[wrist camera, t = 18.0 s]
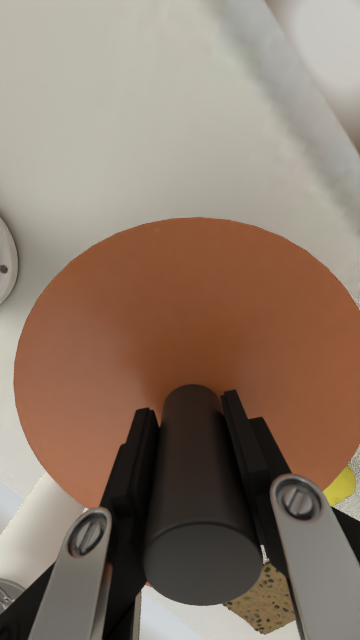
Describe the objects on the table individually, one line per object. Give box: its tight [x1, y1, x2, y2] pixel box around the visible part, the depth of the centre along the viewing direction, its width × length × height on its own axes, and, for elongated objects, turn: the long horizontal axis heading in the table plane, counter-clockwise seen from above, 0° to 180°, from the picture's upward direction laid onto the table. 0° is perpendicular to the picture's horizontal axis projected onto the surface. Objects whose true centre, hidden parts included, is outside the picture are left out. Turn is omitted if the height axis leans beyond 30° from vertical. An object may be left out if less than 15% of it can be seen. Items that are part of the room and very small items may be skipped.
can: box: [0, 470, 85, 614], centre depth 24 cm, size 6×6×12 cm
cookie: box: [222, 562, 295, 635], centre depth 34 cm, size 12×12×1 cm
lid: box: [14, 217, 360, 606], centre depth 9 cm, size 18×18×7 cm
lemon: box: [323, 465, 356, 506], centre depth 27 cm, size 4×8×4 cm, turn 129°
